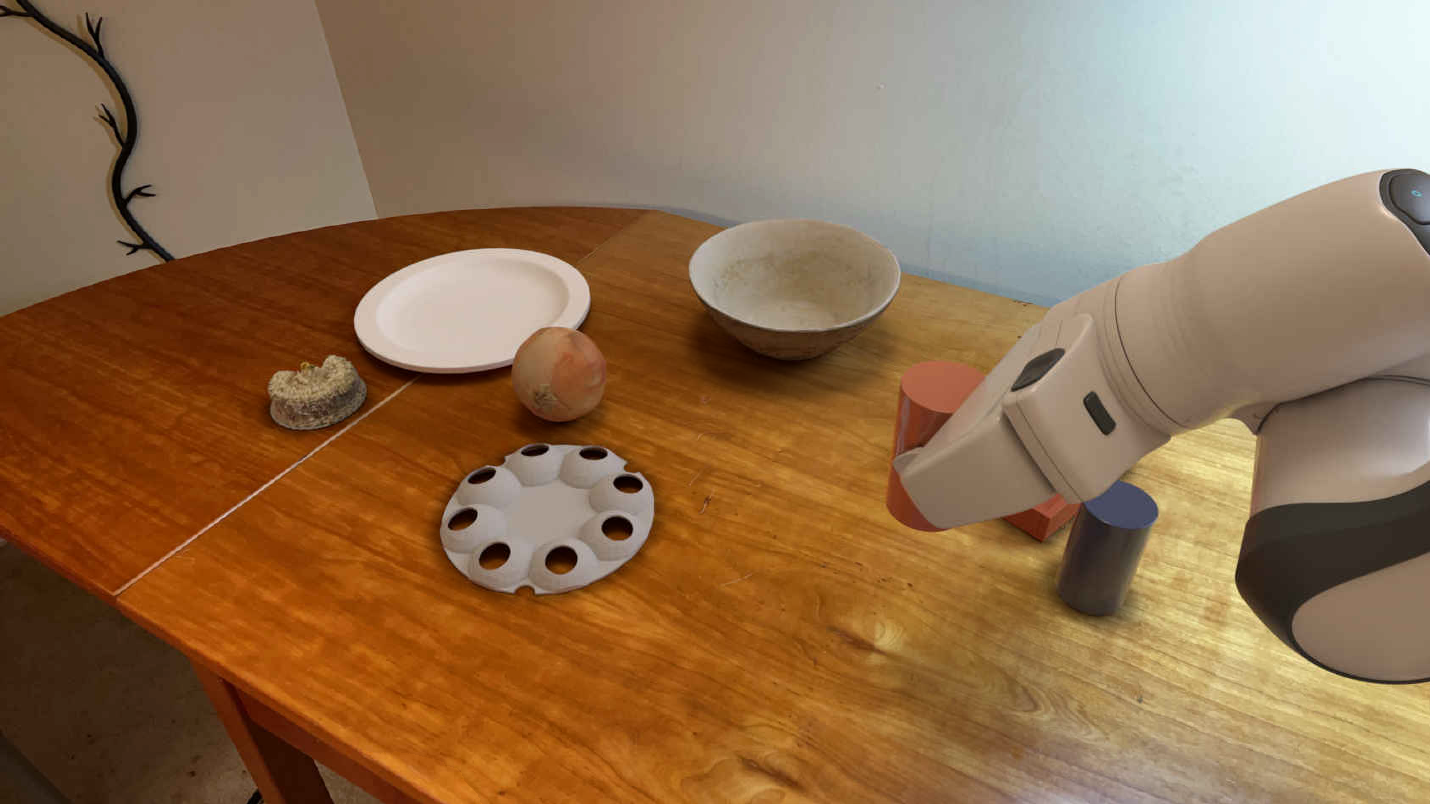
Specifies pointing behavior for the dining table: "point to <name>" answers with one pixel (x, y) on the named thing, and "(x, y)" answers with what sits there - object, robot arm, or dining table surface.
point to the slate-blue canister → (1105, 548)
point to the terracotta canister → (924, 423)
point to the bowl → (794, 284)
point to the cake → (316, 394)
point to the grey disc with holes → (547, 518)
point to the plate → (468, 309)
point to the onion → (559, 374)
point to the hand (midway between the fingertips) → (927, 439)
